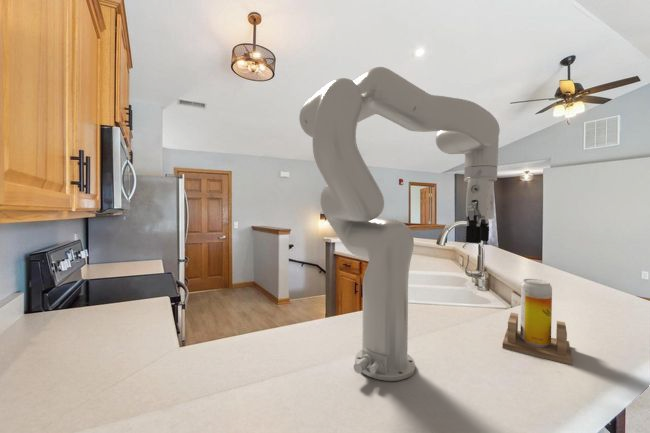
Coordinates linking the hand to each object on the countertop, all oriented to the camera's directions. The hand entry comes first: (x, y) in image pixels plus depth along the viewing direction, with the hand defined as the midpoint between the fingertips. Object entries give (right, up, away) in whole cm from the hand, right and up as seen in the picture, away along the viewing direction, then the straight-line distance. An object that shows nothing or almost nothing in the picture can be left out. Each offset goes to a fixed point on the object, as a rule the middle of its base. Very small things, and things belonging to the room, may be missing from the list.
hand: (477, 241), depth 76 cm
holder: (+12, -26, -4) cm, 29 cm away
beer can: (+12, -24, -4) cm, 28 cm away
